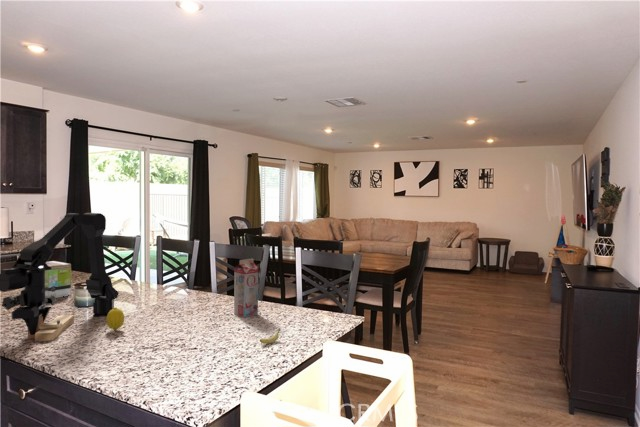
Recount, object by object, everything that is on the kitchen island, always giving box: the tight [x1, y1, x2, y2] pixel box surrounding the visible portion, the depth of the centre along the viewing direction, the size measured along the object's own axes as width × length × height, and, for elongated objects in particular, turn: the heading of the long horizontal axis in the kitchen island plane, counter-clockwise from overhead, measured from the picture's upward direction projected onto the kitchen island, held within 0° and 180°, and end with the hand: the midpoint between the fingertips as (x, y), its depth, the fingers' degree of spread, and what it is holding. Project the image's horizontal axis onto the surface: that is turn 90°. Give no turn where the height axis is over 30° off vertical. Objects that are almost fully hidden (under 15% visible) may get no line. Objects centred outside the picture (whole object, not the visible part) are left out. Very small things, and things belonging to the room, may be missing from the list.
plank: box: [34, 314, 75, 342], centre depth 145 cm, size 5×20×2 cm, turn 13°
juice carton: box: [233, 258, 259, 318], centre depth 169 cm, size 7×7×22 cm
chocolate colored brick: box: [27, 316, 62, 340], centre depth 140 cm, size 9×4×6 cm, turn 103°
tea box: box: [45, 260, 72, 299], centre depth 194 cm, size 15×10×15 cm, turn 58°
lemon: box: [106, 307, 125, 331], centre depth 147 cm, size 6×6×8 cm
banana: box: [259, 327, 281, 345], centre depth 138 cm, size 8×2×4 cm, turn 137°
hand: (35, 332), depth 140 cm, fingers closed on chocolate colored brick, 4 cm apart
